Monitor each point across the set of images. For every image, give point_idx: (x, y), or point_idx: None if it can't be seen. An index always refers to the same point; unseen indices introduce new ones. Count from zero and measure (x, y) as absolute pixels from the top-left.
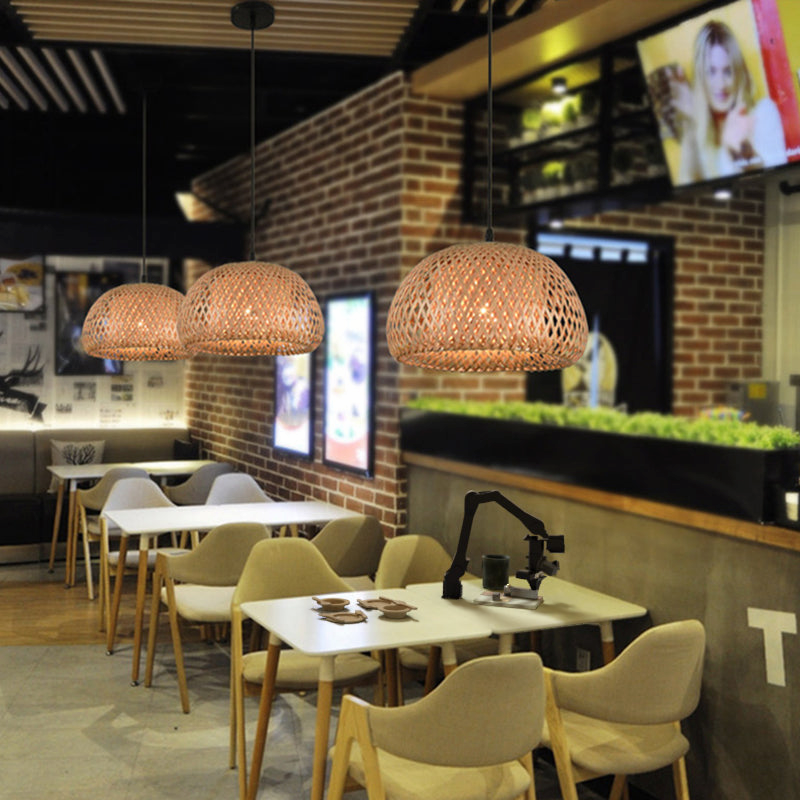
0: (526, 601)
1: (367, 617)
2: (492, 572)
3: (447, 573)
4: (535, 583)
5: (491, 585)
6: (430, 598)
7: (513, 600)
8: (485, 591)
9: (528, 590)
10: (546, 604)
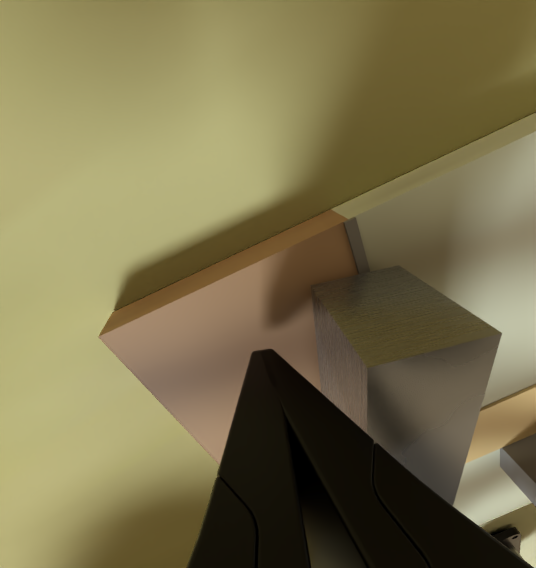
0: (511, 276)
1: None
2: None
3: None
4: (480, 565)
5: None
6: (530, 556)
7: (515, 370)
8: None
9: (466, 422)
10: (321, 105)
